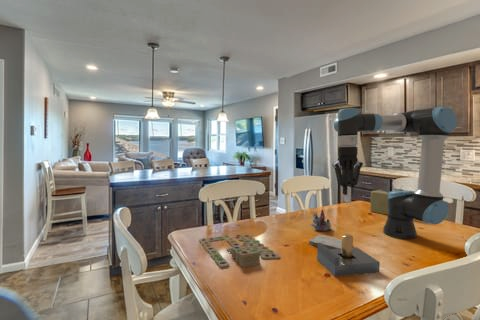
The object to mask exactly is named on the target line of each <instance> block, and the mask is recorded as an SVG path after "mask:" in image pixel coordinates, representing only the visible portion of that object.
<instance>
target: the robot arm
mask: <svg viewBox="0 0 480 320" xmlns="http://www.w3.org/2000/svg"><path fill="white" fill-rule="evenodd" d="M457 126H458V118H457V115H456V113H455V111H454V110H453V109H452V108H451V107H447V106H436V107H428V108H423V109H414V110H410V111H404V112H397V113H393V114H390V115H389V114H387V115H386V114H385V115H383V114H382V115H381V114H379V113H373V112H371V113H359V109H358V108H355V107H347V108H341V109H339V110H338V113H337V118H335V120H334V121H333V129H334V130H335V131H336V132H337V146H338V147H337V155H338V157H337V161H336V162H335V163H334V162H333V163H332V167H333V169H334V172H335V173H334V174H335V176H336V181H337V184H338V186H339V187H340V186H341V188H342V194H343V202H344V203H347V204H352V195H353V190H354V188H355V186H357V185H358V182H359V177H360V173H361V169H362V166H363V165H364V163H363V162H360V161H359V159H358V153H359V152H358V146H357V145H358V141H359V140H358V133H362V132H371V133H372V132H385V131H393V132H395V133H408V134H409V133H410V134H418V137H419V138H420V140H421V144H420V145H421V146H420V147H421V148H420V158H419V159H420V160H419V168H418V179H417V189H416V190H414V191H413V190H392V191H389V192H388V193H389V195H388V215H387V218H386V221H385V223H384V225H383V228H382V229H383V234H385V235H387V236H389V237H391V238H392V237H393V238H396V239H402V240H414V239H416V238H417V237H418V235H417V234H418V231H416V225H415V223H414V220H417V221H419V222H422V223H425V224H431V225H439V224H441V223H442V222H443V221H444V220H445V219H446V218H447V216H448V215H449V210H450V206H449V205H448V202H446V201H445V200H444V195H443V194H442V193H441V181H442V170H443V161H444V160H443V158H444V148H445V141H446V140H447V139H448V138H450V133H453V132H454V131H455V130H456V129H457Z"/></svg>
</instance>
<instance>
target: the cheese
mask: <svg viewBox="0 0 480 320" xmlns="http://www.w3.org/2000/svg"><path fill="white" fill-rule="evenodd" d="M370 191H371V190H370ZM388 195H389V192H387V191H384V190H381V189H378V190H372V191H371V192H370V208H369V211H370V212H372V213H376V214H380V213H381V215H386V216H388Z"/></svg>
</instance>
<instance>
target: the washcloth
mask: <svg viewBox="0 0 480 320" xmlns="http://www.w3.org/2000/svg"><path fill="white" fill-rule="evenodd" d="M317 243H322V244H323V245H324V246H325V247H327V248H328V249H342V239H341V238H335V237H332V236H328V235H324V234H317V235H316V236H314V237H312V238H311V239H309V240H308V244H309V245H311V246H312V247H316V248H317Z"/></svg>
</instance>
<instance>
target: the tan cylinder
mask: <svg viewBox="0 0 480 320" xmlns="http://www.w3.org/2000/svg"><path fill="white" fill-rule="evenodd" d="M341 240H342V250H341V257H342V258H343V259H352V250H353V248H354V242H353V241H354V236H353V235H351V234H345V233H344V234H341Z"/></svg>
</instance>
